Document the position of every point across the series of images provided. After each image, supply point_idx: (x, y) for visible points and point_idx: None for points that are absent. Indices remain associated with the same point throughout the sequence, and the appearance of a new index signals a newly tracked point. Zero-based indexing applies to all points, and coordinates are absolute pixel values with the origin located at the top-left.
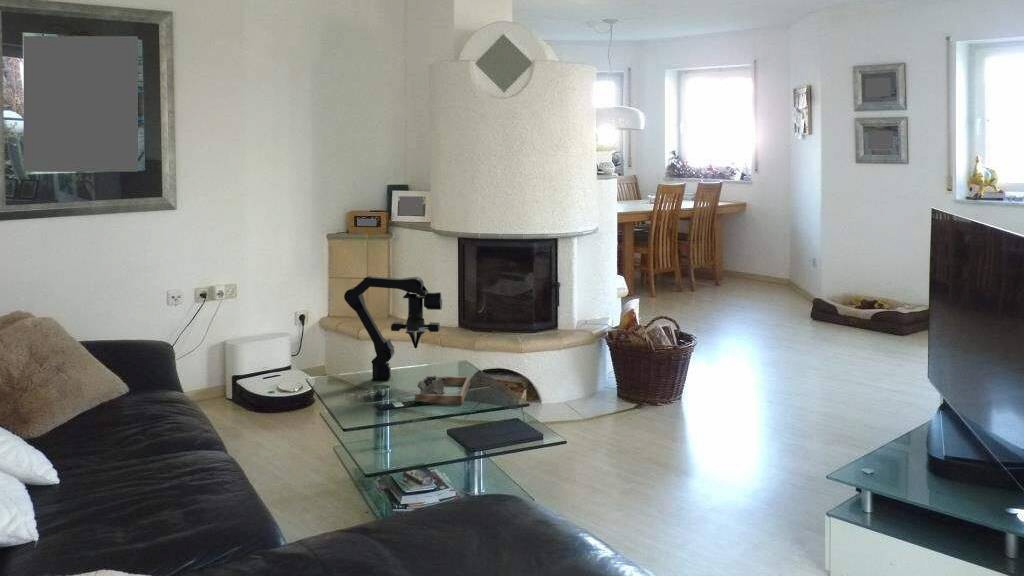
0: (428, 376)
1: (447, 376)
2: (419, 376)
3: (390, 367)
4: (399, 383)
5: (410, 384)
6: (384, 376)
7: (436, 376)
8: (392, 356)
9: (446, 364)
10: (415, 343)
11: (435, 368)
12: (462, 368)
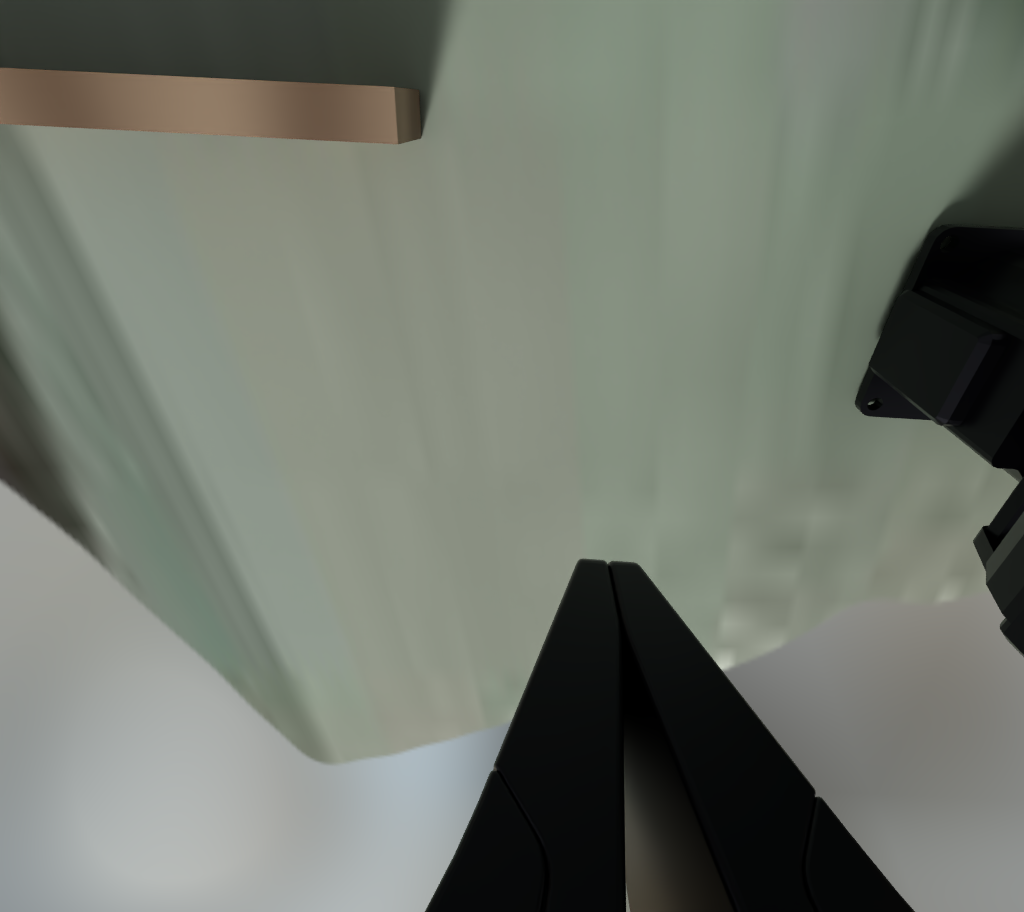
0: (360, 106)
1: (79, 126)
2: (544, 452)
3: (944, 409)
4: (785, 115)
5: (632, 59)
6: (996, 272)
7: (238, 113)
8: (1017, 532)
9: (392, 732)
10: (626, 693)
11: (445, 661)
12: (252, 659)
